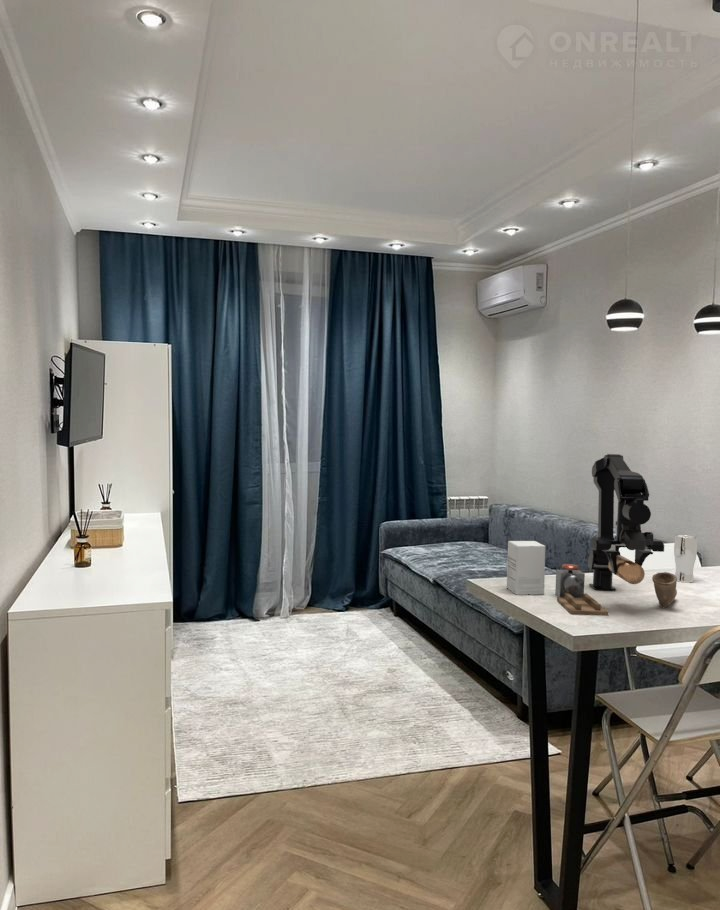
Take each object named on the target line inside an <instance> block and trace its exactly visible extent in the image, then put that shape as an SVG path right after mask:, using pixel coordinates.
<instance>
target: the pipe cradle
mask: <svg viewBox="0 0 720 910" xmlns="http://www.w3.org/2000/svg"><path fill="white" fill-rule="evenodd" d="M556 601H557V603H558V604H560V605H561V606H562V607H563V609H565V611H567V612H568V613H569V614H570V615H579V616H583V615H584V616H609V611H608V610H607V609H606V608H604V607H603V605H602V606H601V604H600V603H599V602H598V601H597V600H595V598H594V597H591V596H590V595H589V594H588V593H584V594H583V597H582V598H574V597H573V596H571V595H570V594H569V593H565V596H564V598H558V597H557V596H556Z"/></svg>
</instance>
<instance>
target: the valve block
mask: <svg viewBox="0 0 720 910" xmlns="http://www.w3.org/2000/svg"><path fill="white" fill-rule="evenodd" d="M561 566H562V567H561V568H562V569H555V571H556V572H555V590H554V591H555V593H554V594H555V596H556V598H557V597H558V598H564V596H565V593H569V594H570V595H571V596H573V597H574V598H582V597H583V594H585V580H586V579H585V577H586V576H585V575H586V574H585V573H584V572H583V571H581V570H580V566H579V565H578V564H570V563H563V564H562V565H561Z"/></svg>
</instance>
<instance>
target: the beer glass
mask: <svg viewBox="0 0 720 910" xmlns="http://www.w3.org/2000/svg"><path fill="white" fill-rule="evenodd" d="M697 553H698V537H697V536H694V535H688V534H675V536H674V546H673V557H674V563H675V572H674V575H675V576H676V577H677V581H676V582H677V583H678V582H679V583H684V582H685V583H687V584H690V582H692V583H694V582H695V579H694V568H695V563H696V560H697V559H696V558H697Z"/></svg>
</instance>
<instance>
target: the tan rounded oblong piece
mask: <svg viewBox="0 0 720 910" xmlns="http://www.w3.org/2000/svg"><path fill="white" fill-rule="evenodd" d="M620 555H621V554H620ZM620 555H617V573H616V576H617V577H618V578H621V579H622V580H623V581H625V582H627V583H628V584H630V585H638V584H640V583H641V582H642V581H643V580H644V579H645V575H646V573H645V570H644V567H641V566H640V565H638V564H636V563H635V561H632V560H630V559H629V558H626V557H625V556H623V555H621V556H620ZM608 566H609V569H610V571H611V572H612V573H613V570H612V568H611V565H610V562H609V564H608ZM613 574H614V573H613Z"/></svg>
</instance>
